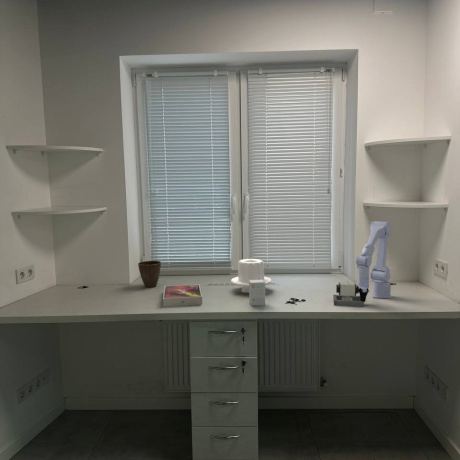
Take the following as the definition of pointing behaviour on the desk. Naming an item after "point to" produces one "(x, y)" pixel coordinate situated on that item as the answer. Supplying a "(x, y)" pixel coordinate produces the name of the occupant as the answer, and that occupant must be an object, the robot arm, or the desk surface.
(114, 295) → the desk surface
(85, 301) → the desk surface
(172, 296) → the product packaging
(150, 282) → the plant pot
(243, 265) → the ribbed cylinder on disc
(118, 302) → the desk surface
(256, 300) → the small box
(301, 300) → the desk surface
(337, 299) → the housing bracket
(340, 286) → the pneumatic valve
